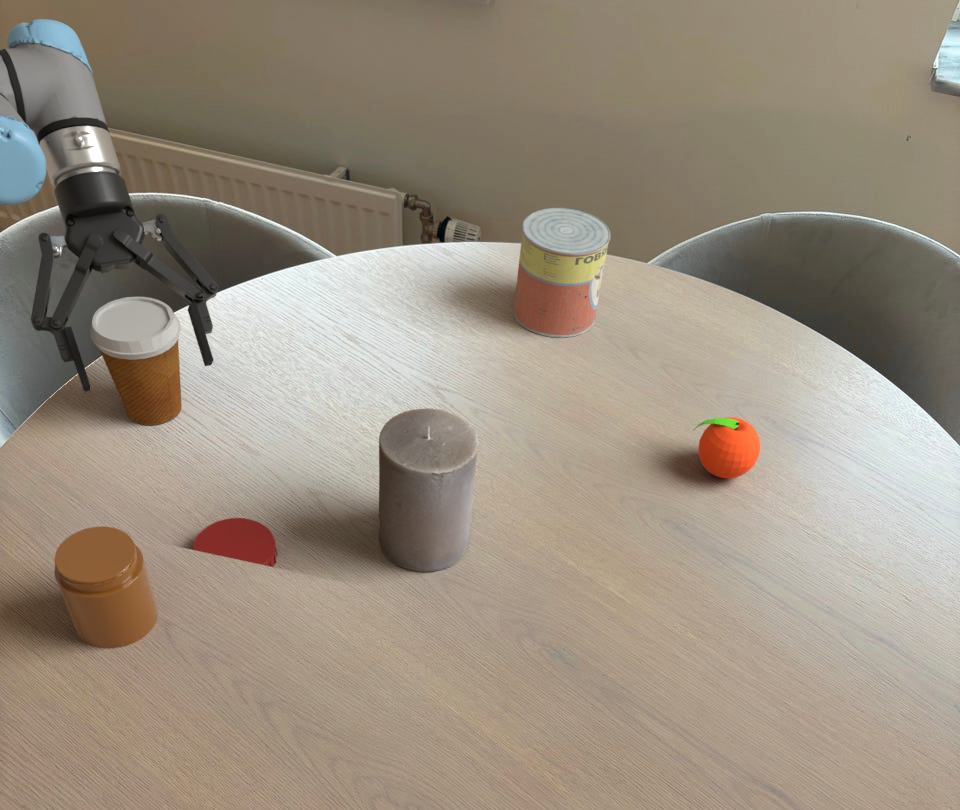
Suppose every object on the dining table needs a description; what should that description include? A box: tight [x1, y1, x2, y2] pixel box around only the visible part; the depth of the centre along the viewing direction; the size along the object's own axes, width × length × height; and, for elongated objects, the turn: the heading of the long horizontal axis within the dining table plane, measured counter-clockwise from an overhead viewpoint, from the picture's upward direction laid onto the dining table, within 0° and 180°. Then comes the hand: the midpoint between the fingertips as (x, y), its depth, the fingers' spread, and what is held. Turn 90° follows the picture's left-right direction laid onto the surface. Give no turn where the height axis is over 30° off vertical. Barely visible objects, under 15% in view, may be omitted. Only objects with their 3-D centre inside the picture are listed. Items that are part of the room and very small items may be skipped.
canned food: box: [512, 207, 611, 339], centre depth 129 cm, size 11×11×12 cm
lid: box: [192, 517, 278, 568], centre depth 101 cm, size 8×8×2 cm
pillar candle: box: [378, 408, 479, 573], centre depth 99 cm, size 10×10×15 cm
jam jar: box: [53, 526, 159, 649], centre depth 90 cm, size 8×8×10 cm
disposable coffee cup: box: [89, 296, 182, 426], centre depth 111 cm, size 10×10×12 cm
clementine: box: [692, 416, 761, 479], centre depth 113 cm, size 8×7×7 cm
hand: (149, 376), depth 110 cm, fingers open, 13 cm apart
